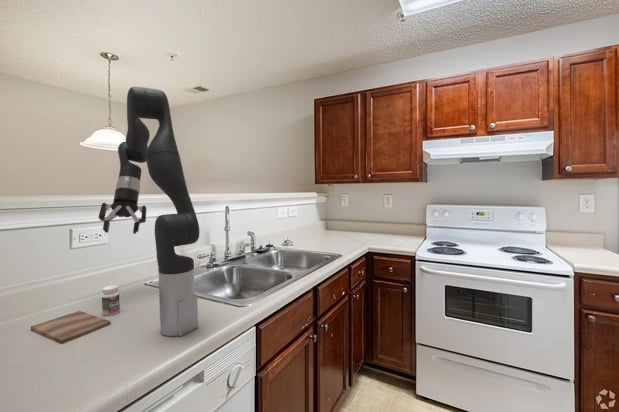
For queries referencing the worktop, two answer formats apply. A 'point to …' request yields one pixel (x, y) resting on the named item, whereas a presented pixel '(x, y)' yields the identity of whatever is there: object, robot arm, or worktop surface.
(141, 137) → the robot arm
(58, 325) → the walnut board
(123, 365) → the worktop surface
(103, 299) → the pill bottle
